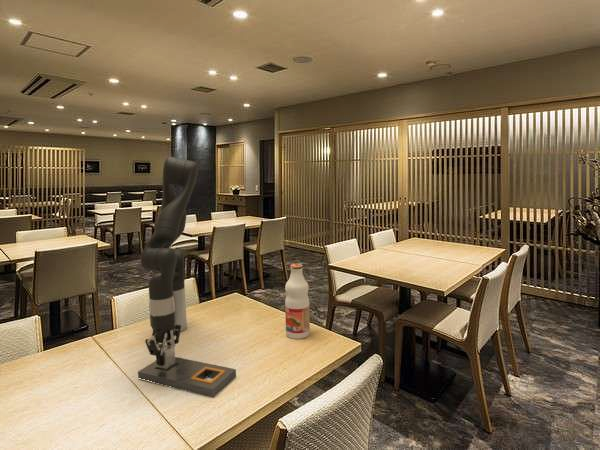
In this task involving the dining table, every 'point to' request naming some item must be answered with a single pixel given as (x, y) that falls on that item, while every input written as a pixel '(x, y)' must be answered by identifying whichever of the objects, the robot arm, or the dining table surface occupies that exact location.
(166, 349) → the grey square peg
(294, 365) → the dining table surface
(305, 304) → the fruit juice
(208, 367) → the grey board with holes
